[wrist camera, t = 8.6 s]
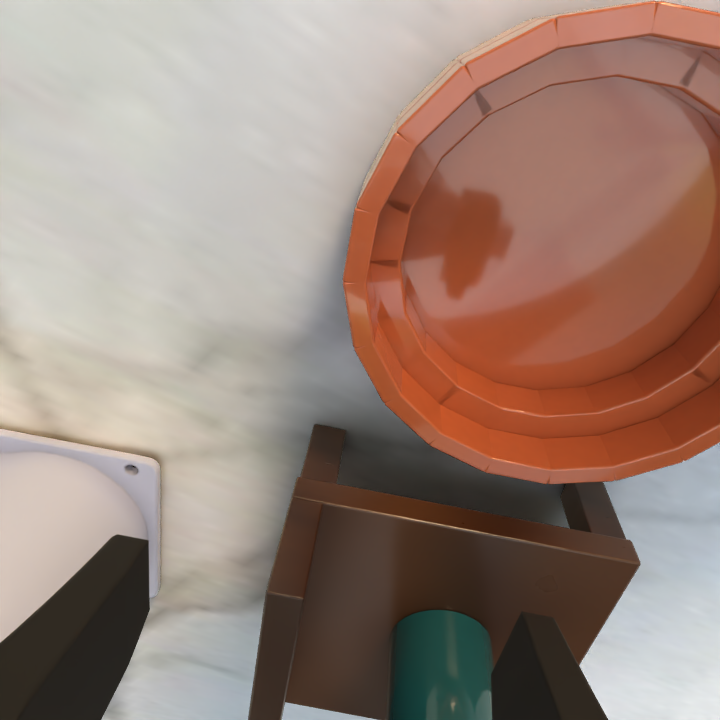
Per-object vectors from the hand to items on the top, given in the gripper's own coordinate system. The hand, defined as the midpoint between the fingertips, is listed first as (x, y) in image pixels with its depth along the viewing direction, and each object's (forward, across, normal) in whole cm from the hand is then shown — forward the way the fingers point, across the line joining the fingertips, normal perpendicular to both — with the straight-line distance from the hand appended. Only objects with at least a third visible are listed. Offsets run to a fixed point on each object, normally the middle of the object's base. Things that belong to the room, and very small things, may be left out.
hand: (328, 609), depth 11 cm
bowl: (+10, -5, -5) cm, 12 cm away
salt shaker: (+6, -4, +8) cm, 11 cm away
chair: (+10, -4, +8) cm, 14 cm away
